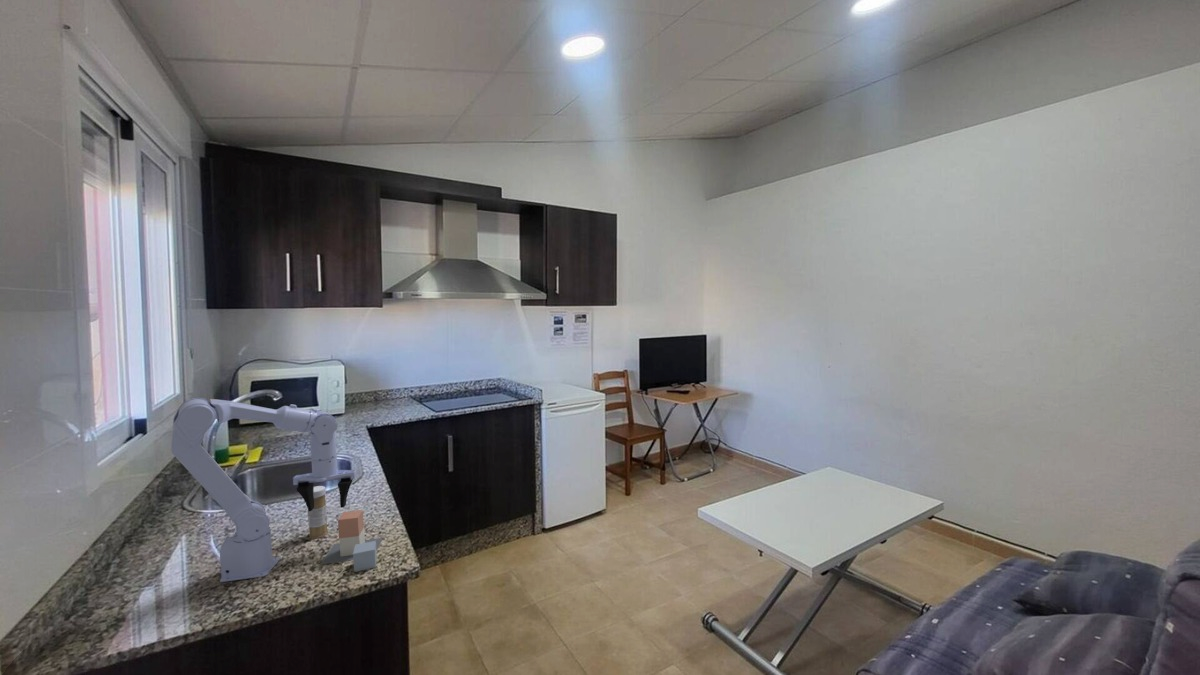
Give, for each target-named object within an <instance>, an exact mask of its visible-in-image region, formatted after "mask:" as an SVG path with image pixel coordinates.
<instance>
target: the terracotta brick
mask: <svg viewBox="0 0 1200 675" xmlns="http://www.w3.org/2000/svg"><path fill="white" fill-rule="evenodd" d="M364 523H365V522H364V511H363V509H359V510H352V511H351V510H350V511H343V512H342V513H341V515H340V516H339V518H338V519H337V527H338V528H337V529H338V539H339V538H347V537H355V536H359V535H360V533H361V532H362V530H363V528H364V529H365V526H364V525H365V524H364Z"/></svg>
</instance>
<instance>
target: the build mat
mask: <svg viewBox="0 0 1200 675" xmlns="http://www.w3.org/2000/svg"><path fill="white" fill-rule="evenodd" d="M382 540H383V537H380V538H371V539H365V543H367V542H372V541H376V552H378V548H379V546H380V544H381V543H382V542H383V541H382ZM350 561H353V555H348V556H340V542H339V543H334V544H333V545H332V546H331V548H330V550H329V551H328V552H327V554H326V555H325V557H324V558H323V560H322V562H321V563H320V565H321V566H322V565H327V564H335V563H343V562H350Z"/></svg>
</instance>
